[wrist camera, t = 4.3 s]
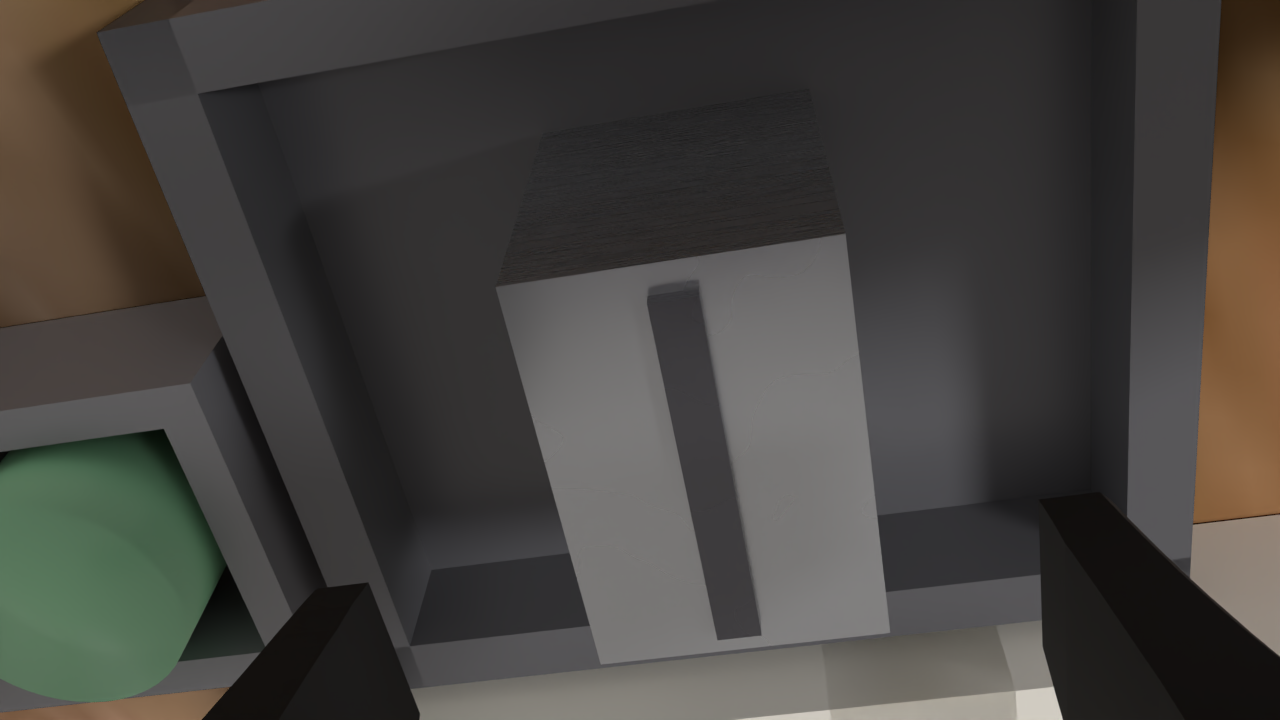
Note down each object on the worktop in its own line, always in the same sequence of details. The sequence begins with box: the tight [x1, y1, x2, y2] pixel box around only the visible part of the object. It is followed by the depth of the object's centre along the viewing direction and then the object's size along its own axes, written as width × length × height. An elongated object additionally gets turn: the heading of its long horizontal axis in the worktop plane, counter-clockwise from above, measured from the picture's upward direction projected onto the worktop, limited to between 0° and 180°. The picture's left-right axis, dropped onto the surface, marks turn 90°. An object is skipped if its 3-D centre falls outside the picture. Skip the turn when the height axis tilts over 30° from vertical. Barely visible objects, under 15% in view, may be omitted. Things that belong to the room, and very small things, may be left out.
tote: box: [97, 0, 1221, 689], centre depth 19 cm, size 14×12×2 cm
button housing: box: [0, 296, 327, 712], centre depth 21 cm, size 6×6×3 cm
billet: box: [496, 89, 890, 665], centre depth 17 cm, size 4×6×5 cm, turn 11°
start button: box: [0, 429, 227, 702], centre depth 20 cm, size 4×4×3 cm
